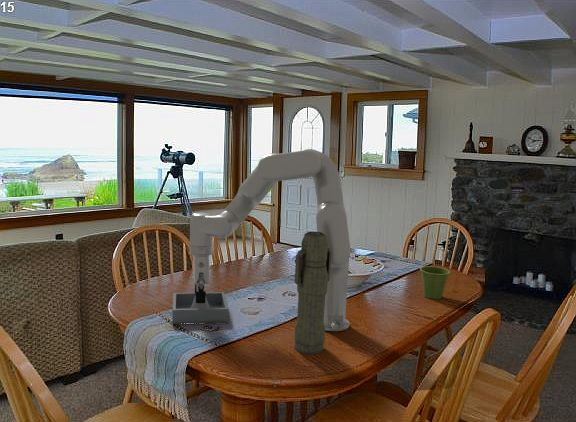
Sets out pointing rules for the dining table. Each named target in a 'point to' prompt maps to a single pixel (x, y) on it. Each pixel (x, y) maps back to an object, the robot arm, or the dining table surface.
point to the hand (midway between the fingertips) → (199, 298)
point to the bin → (203, 315)
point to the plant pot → (434, 281)
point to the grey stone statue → (311, 292)
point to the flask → (199, 304)
